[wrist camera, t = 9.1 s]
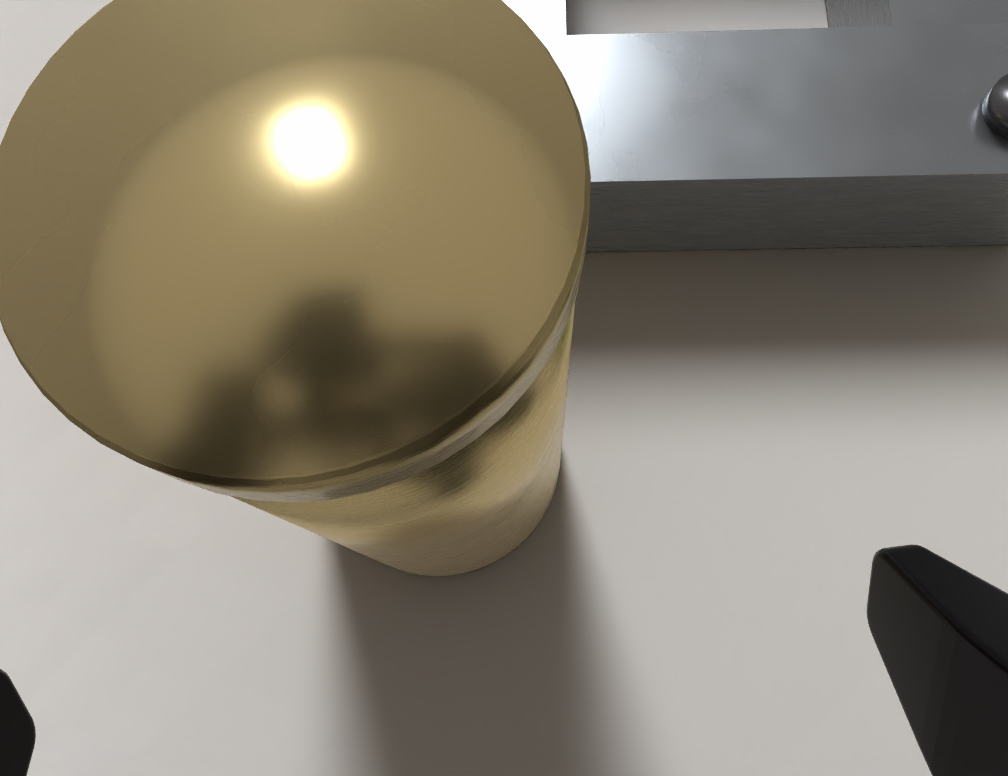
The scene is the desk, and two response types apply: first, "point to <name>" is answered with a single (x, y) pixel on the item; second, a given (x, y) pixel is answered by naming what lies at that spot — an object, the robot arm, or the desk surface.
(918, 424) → the desk surface
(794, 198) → the housing
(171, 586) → the desk surface
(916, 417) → the desk surface
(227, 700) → the desk surface
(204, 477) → the cylinder
